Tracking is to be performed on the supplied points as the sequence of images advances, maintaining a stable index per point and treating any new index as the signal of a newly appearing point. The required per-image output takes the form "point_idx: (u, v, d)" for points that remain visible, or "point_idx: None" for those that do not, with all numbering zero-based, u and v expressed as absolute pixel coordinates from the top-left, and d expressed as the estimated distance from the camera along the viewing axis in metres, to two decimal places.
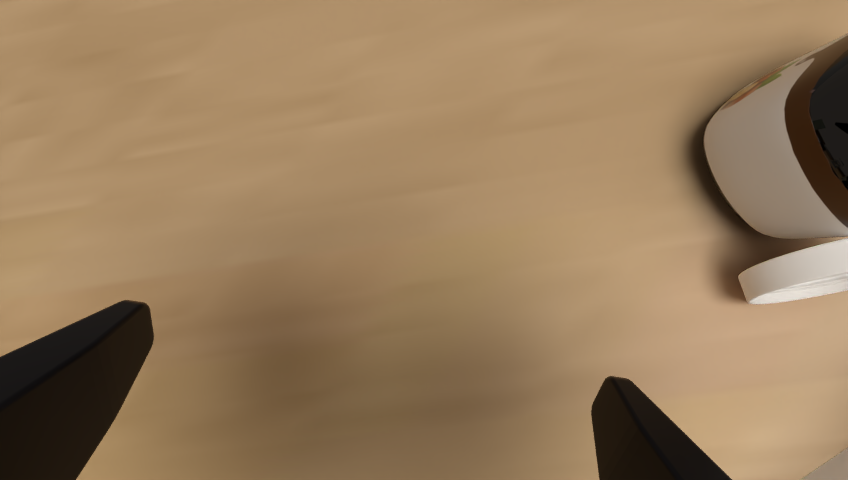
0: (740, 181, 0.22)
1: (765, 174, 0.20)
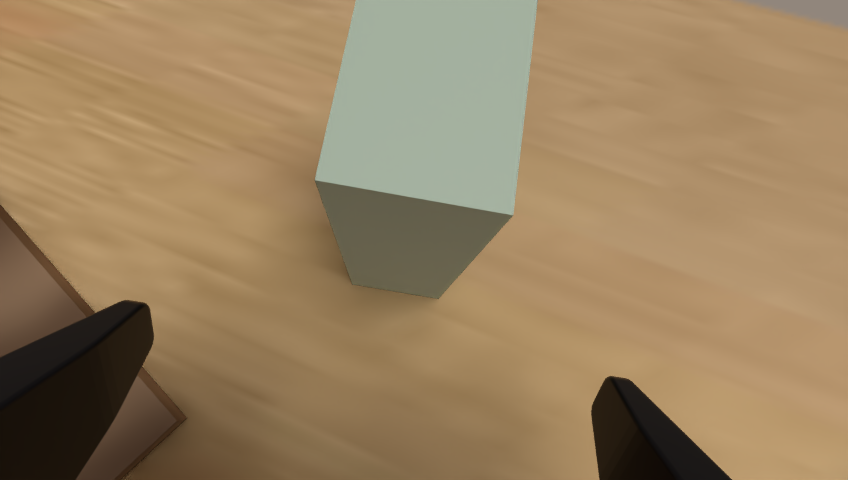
0: None
1: None
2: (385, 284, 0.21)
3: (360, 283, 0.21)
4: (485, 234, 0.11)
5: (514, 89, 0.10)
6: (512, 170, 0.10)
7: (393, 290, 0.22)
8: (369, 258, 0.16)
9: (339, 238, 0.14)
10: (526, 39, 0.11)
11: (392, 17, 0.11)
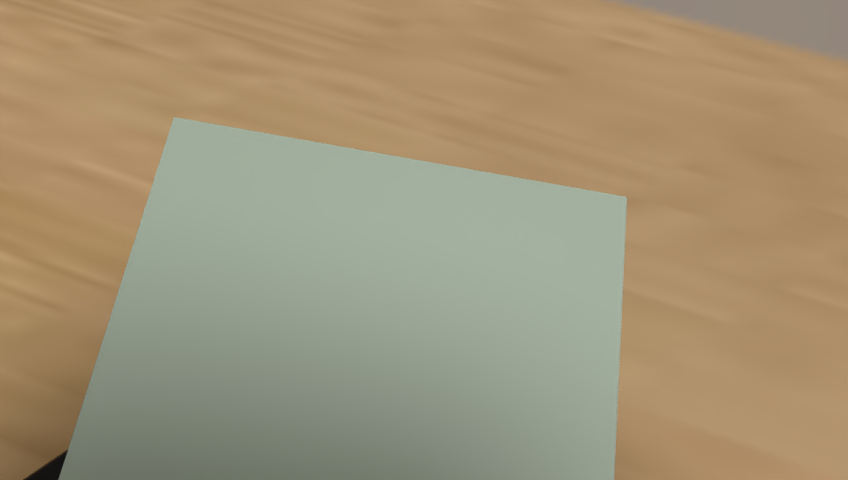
0: None
1: None
2: None
3: None
4: None
5: None
6: None
7: None
8: None
9: None
10: (598, 414, 0.04)
11: (213, 372, 0.04)
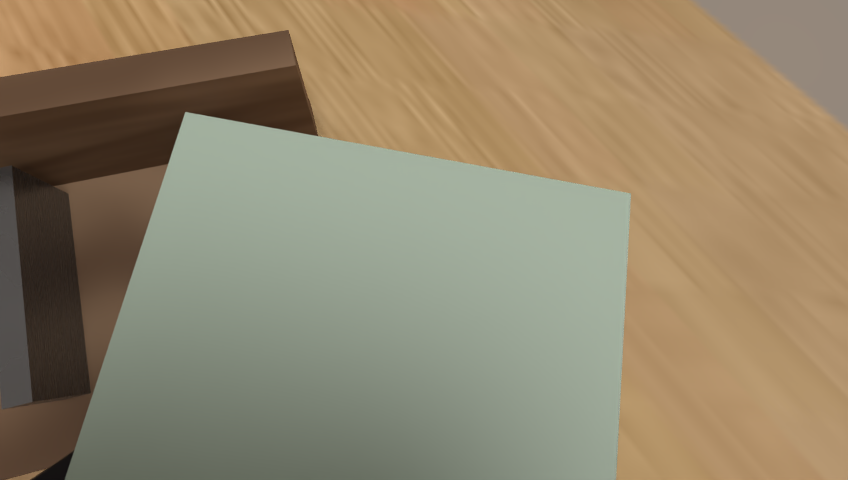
0: None
1: None
2: None
3: None
4: None
5: None
6: None
7: None
8: None
9: None
10: (601, 408, 0.04)
11: (222, 359, 0.04)
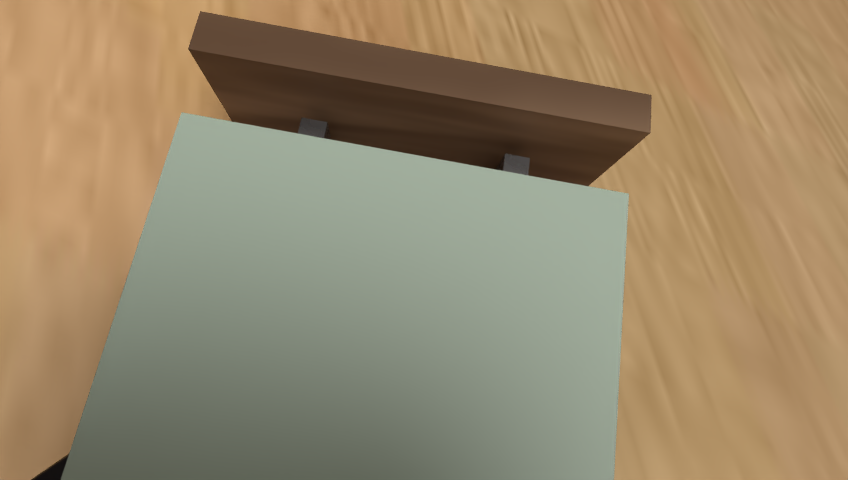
0: None
1: None
2: None
3: None
4: None
5: None
6: None
7: None
8: None
9: None
10: (599, 410, 0.04)
11: (217, 362, 0.04)
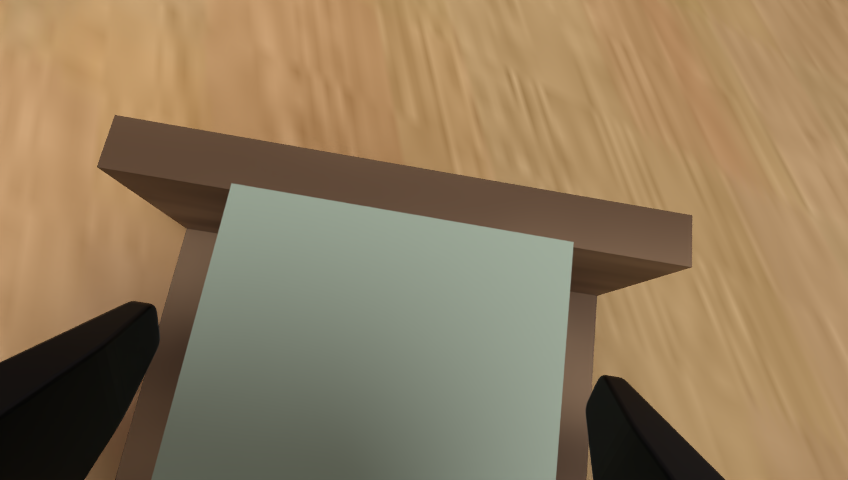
0: None
1: None
2: None
3: None
4: None
5: None
6: None
7: None
8: None
9: None
10: (548, 406, 0.05)
11: (266, 374, 0.05)
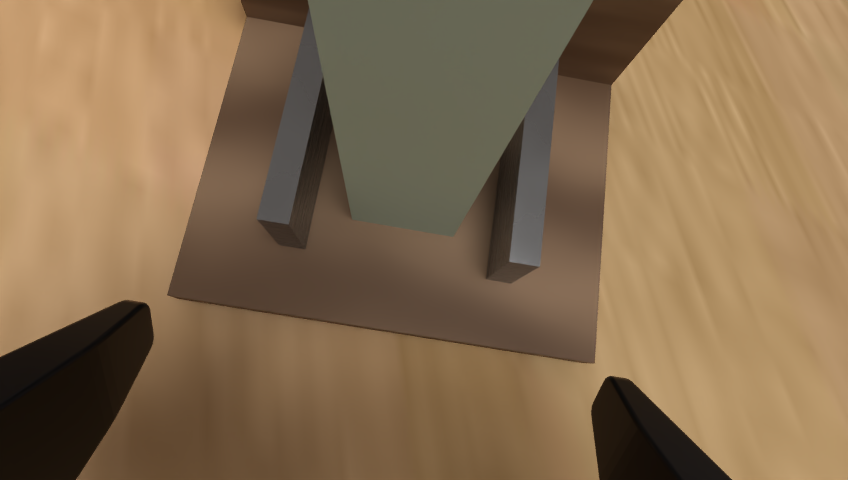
0: None
1: None
2: (391, 214, 0.17)
3: (361, 216, 0.18)
4: (539, 66, 0.08)
5: None
6: None
7: (400, 226, 0.19)
8: (373, 157, 0.13)
9: (335, 112, 0.11)
10: None
11: None
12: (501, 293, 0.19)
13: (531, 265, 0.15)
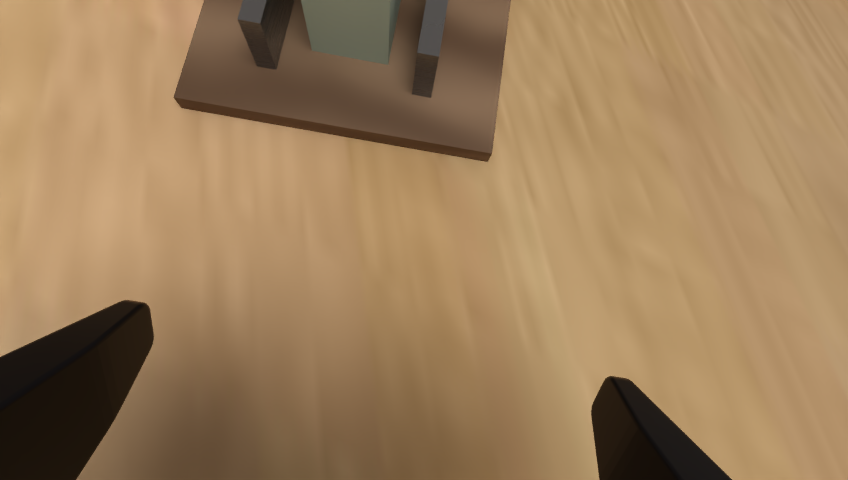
0: None
1: None
2: (338, 36, 0.24)
3: (318, 44, 0.25)
4: None
5: None
6: None
7: (347, 54, 0.25)
8: None
9: None
10: None
11: None
12: (423, 104, 0.25)
13: (433, 56, 0.22)
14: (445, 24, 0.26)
